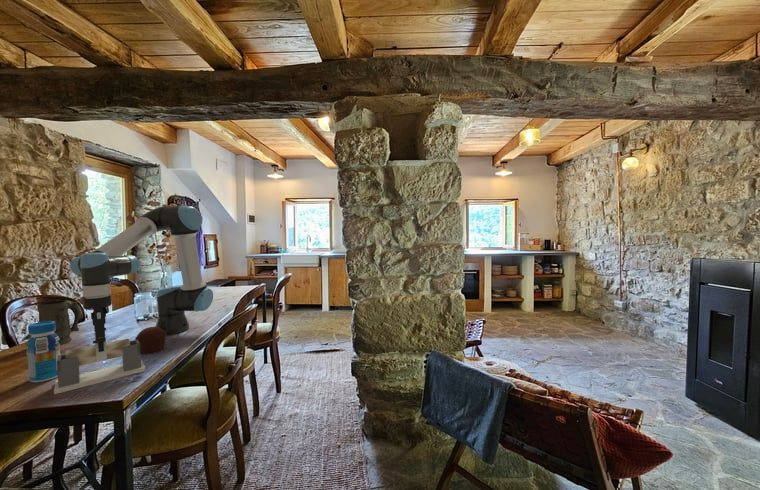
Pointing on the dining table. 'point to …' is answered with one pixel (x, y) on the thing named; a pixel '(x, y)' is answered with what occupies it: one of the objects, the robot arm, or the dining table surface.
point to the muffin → (151, 340)
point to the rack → (73, 379)
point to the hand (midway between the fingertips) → (101, 354)
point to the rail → (89, 353)
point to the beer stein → (60, 317)
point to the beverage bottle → (42, 351)
